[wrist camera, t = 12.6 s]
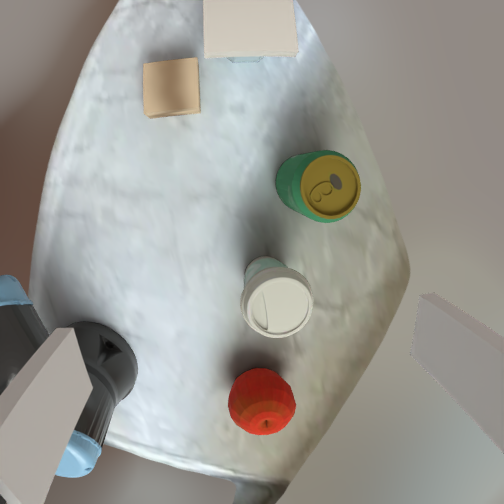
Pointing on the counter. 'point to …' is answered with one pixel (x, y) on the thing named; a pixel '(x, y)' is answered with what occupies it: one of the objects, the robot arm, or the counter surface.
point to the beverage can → (319, 185)
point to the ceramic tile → (249, 28)
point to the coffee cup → (275, 298)
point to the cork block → (171, 88)
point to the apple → (261, 402)
